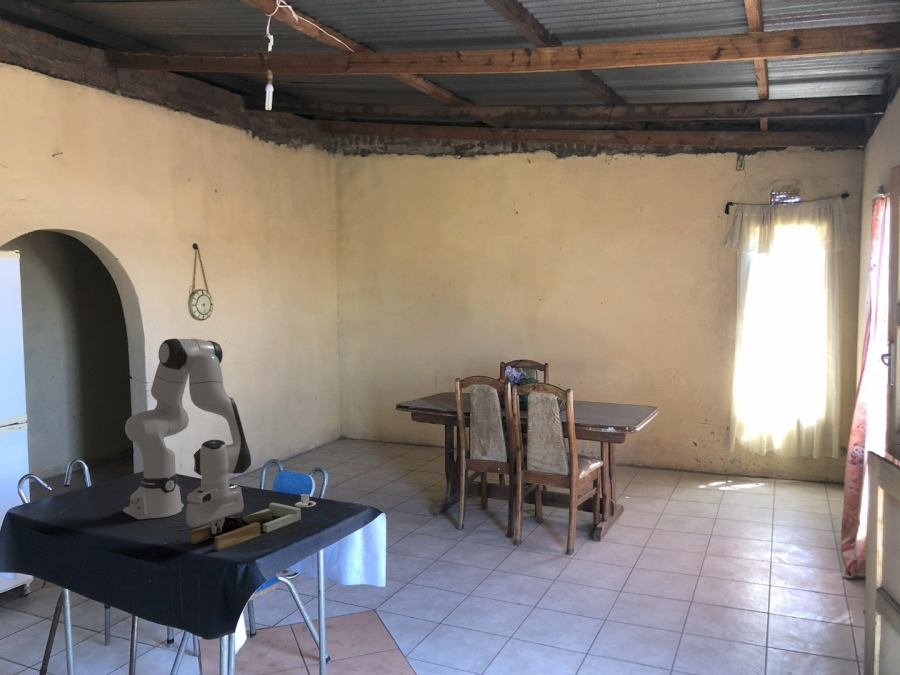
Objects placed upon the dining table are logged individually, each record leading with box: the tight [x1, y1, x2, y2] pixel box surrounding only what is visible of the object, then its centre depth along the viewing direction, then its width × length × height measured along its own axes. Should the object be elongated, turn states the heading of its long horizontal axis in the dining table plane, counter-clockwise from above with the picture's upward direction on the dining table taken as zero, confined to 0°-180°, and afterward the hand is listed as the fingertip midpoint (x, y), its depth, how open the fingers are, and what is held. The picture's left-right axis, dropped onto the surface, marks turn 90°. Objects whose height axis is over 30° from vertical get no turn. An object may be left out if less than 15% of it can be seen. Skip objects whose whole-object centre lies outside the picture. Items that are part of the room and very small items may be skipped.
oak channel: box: [189, 516, 261, 552], centre depth 229 cm, size 14×17×4 cm
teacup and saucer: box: [294, 493, 317, 508], centre depth 266 cm, size 9×8×4 cm
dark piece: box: [210, 511, 274, 538], centre depth 235 cm, size 21×8×7 cm, turn 133°
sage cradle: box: [250, 502, 302, 533], centre depth 246 cm, size 14×16×4 cm
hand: (216, 532), depth 226 cm, fingers closed
